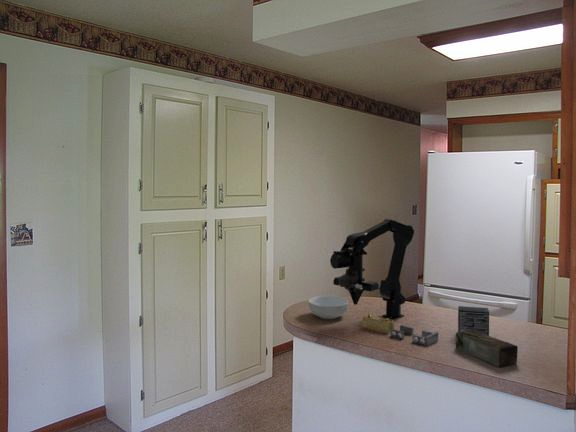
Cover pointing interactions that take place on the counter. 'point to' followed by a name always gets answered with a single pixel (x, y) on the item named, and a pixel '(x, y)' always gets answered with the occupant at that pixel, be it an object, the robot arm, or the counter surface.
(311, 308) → the cereal bowl
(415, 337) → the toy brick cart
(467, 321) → the small box
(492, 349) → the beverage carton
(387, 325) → the brass block with pegs
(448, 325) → the counter surface
